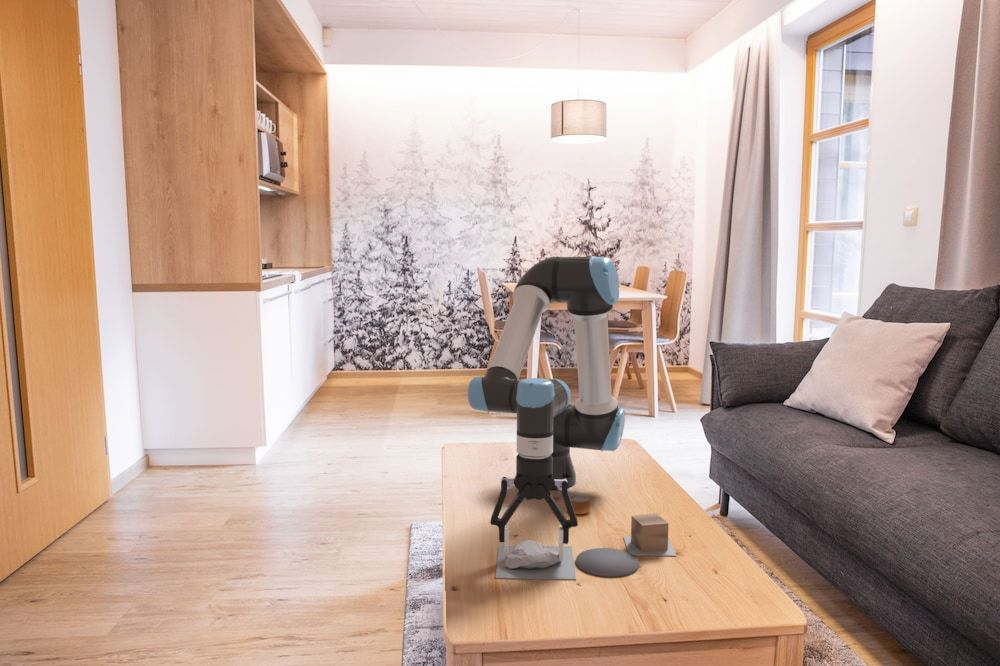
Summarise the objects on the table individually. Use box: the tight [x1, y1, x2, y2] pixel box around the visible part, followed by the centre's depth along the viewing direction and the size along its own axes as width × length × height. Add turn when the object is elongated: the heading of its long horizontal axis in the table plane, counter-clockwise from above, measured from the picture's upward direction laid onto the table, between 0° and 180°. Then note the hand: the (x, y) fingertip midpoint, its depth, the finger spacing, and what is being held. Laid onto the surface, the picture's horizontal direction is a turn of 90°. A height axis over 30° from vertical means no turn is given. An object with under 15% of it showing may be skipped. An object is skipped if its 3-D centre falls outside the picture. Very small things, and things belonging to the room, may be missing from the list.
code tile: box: [494, 544, 577, 581], centre depth 154 cm, size 16×16×1 cm
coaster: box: [575, 547, 640, 578], centre depth 154 cm, size 13×13×1 cm
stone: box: [504, 538, 560, 569], centre depth 154 cm, size 10×12×4 cm
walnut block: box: [630, 513, 669, 552], centre depth 162 cm, size 6×6×6 cm
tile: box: [623, 536, 677, 557], centre depth 162 cm, size 10×10×1 cm
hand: (533, 557), depth 154 cm, fingers closed on stone, 11 cm apart
